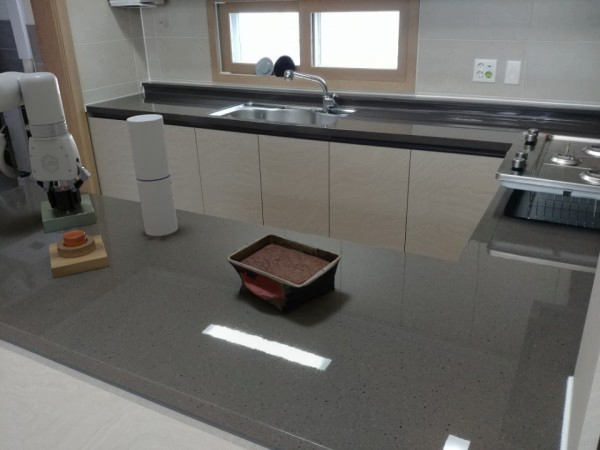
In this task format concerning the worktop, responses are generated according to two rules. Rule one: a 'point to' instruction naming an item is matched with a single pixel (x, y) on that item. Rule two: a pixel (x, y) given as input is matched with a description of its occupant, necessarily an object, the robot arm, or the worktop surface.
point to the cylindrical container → (153, 174)
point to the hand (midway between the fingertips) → (66, 205)
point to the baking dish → (284, 270)
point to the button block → (78, 257)
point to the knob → (62, 197)
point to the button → (74, 238)
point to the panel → (67, 216)
